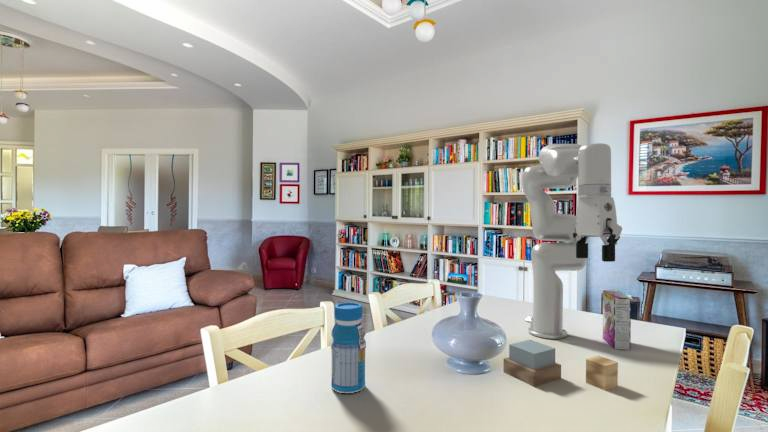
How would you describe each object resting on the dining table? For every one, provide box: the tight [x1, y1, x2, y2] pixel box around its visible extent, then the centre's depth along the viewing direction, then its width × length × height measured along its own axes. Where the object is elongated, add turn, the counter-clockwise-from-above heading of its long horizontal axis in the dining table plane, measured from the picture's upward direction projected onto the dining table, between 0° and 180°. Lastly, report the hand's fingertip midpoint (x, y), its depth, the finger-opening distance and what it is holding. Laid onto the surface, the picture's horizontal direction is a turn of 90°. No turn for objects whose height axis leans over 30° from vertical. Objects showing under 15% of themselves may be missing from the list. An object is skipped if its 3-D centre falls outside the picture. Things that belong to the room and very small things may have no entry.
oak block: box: [585, 355, 619, 391], centre depth 100 cm, size 5×5×6 cm
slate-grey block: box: [508, 339, 556, 370], centre depth 105 cm, size 8×8×4 cm
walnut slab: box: [503, 357, 562, 388], centre depth 105 cm, size 10×10×4 cm
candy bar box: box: [602, 289, 632, 351], centre depth 129 cm, size 11×5×16 cm, turn 168°
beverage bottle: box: [330, 301, 367, 394], centre depth 97 cm, size 8×8×20 cm
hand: (594, 259), depth 103 cm, fingers open, 9 cm apart
